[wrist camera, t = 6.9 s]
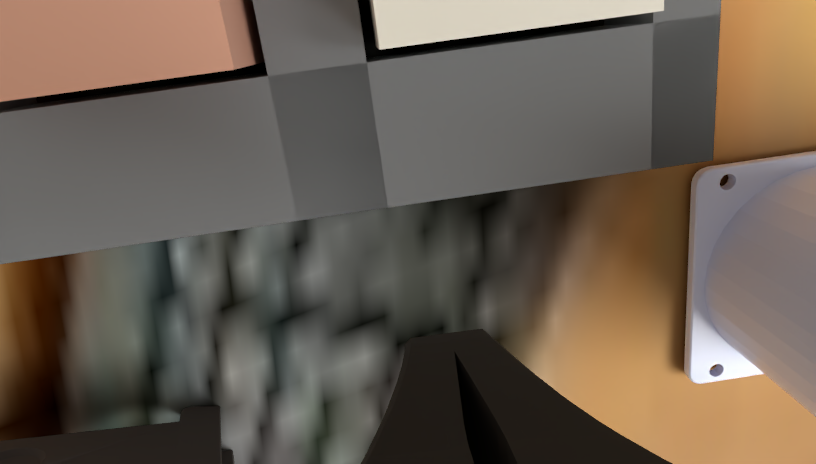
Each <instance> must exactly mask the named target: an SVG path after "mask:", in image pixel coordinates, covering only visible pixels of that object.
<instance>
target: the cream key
mask: <svg viewBox="0 0 816 464" xmlns="http://www.w3.org/2000/svg"><path fill="white" fill-rule="evenodd" d="M369 4H370V12H371V19H372V26H373V33H374V40H375V47H377V48H378V49H379V50H382V49H389V48H396V47H403V46H411V45H418V44H425V43H433V42H440V41H447V40H454V39H462V38H469V37H476V36H484V35H491V34H498V33H505V32H513V31H520V30H527V29H535V28H542V27H549V26H556V25H564V24H571V23H578V22H586V21H593V20H600V19H607V18H615V17H622V16H629V15H637V14H644V13H651V12H658V11H664V0H369Z"/></svg>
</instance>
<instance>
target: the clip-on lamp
mask: <svg viewBox="0 0 816 464" xmlns="http://www.w3.org/2000/svg"><path fill="white" fill-rule="evenodd" d="M0 464H234V456H233V451H232V450H226V451H221V417H220V407H219V406H200V407H187V408H185V409H183V410H182V412H181V415H180V422H171V423H162V424H153V425H143V426H134V427H125V428H116V429H106V430H97V431H88V432H78V433H69V434H60V435H51V436H41V437H32V438H23V439H14V440H4V441H0Z"/></svg>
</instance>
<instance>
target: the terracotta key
mask: <svg viewBox="0 0 816 464" xmlns="http://www.w3.org/2000/svg"><path fill="white" fill-rule="evenodd" d="M262 62H265V60H264V55H263V50H262V45H261V40H260V35H259V30H258V25H257V20H256V15H255V10H254V6H253V1H252V0H0V102H2V101H10V100H17V99H24V98H32V97H39V96H46V95H54V94H61V93H68V92H75V91H83V90H90V89H97V88H105V87H112V86H119V85H126V84H134V83H141V82H148V81H156V80H163V79H170V78H177V77H185V76H192V75H199V74H207V73H214V72H221V71H228V70H235V69H239V68H243V67H247V66H251V65H255V64H258V63H262Z"/></svg>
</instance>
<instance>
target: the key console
mask: <svg viewBox="0 0 816 464" xmlns="http://www.w3.org/2000/svg"><path fill="white" fill-rule="evenodd" d="M252 1H253V6H254V10H255V15H256V20H257V25H258V30H259V35H260V40H261V45H262V50H263V55H264V60H265V64H266V69H267V72H261V73H254V74H247V75H240V76H232V77H225V78H218V79H211V80H203V81H196V82H189V83H181V84H174V85H167V86H160V87H152V88H145V89H138V90H131V91H123V92H116V93H109V94H102V95H94V96H87V97H80V98H72V99H65V100H58V101H51V102H43V103H37V101H36V98H35V97H32V98H24V99H17V100H10V101H2V102H0V264H5V263H12V262H18V261H25V260H32V259H39V258H46V257H53V256H60V255H66V254H73V253H80V252H87V251H94V250H101V249H108V248H115V247H121V246H128V245H135V244H142V243H149V242H156V241H163V240H169V239H176V238H183V237H190V236H197V235H204V234H211V233H217V232H224V231H231V230H238V229H245V228H252V227H259V226H266V225H272V224H279V223H286V222H293V221H300V220H307V219H314V218H320V217H327V216H334V215H341V214H348V213H355V212H362V211H369V210H375V209H382V208H389V207H396V206H403V205H410V204H417V203H423V202H430V201H437V200H444V199H451V198H458V197H465V196H472V195H478V194H485V193H492V192H499V191H506V190H513V189H520V188H526V187H533V186H540V185H547V184H554V183H561V182H568V181H574V180H581V179H588V178H595V177H602V176H609V175H616V174H623V173H629V172H636V171H643V170H650V169H657V168H664V167H671V166H677V165H684V164H691V163H698V162H705V161H712V160H713V150H714V130H715V110H716V91H717V71H718V52H719V32H720V12H721V0H664V11H658V12H651V13H644V14H637V15H629V16H622V17H615V18H607V19H604V25H603V26H596V27H589V28H581V29H574V30H567V31H560V32H552V33H545V34H538V35H530V36H523V37H516V38H509V39H501V40H494V41H487V42H480V43H472V44H465V45H458V46H451V47H443V48H436V49H429V50H421V51H414V52H407V53H400V54H392V55H385V56H378V57H371V58H366V54H365V47H364V41H363V34H362V27H361V20H360V13H359V6H358V0H252Z"/></svg>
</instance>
